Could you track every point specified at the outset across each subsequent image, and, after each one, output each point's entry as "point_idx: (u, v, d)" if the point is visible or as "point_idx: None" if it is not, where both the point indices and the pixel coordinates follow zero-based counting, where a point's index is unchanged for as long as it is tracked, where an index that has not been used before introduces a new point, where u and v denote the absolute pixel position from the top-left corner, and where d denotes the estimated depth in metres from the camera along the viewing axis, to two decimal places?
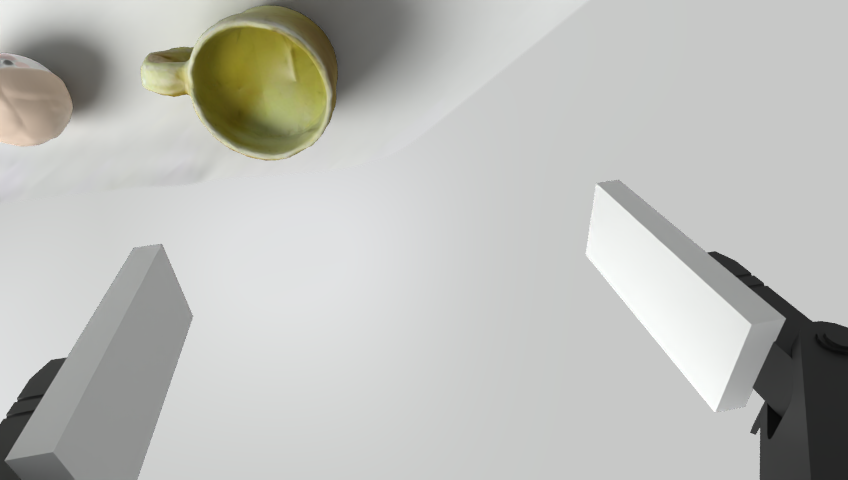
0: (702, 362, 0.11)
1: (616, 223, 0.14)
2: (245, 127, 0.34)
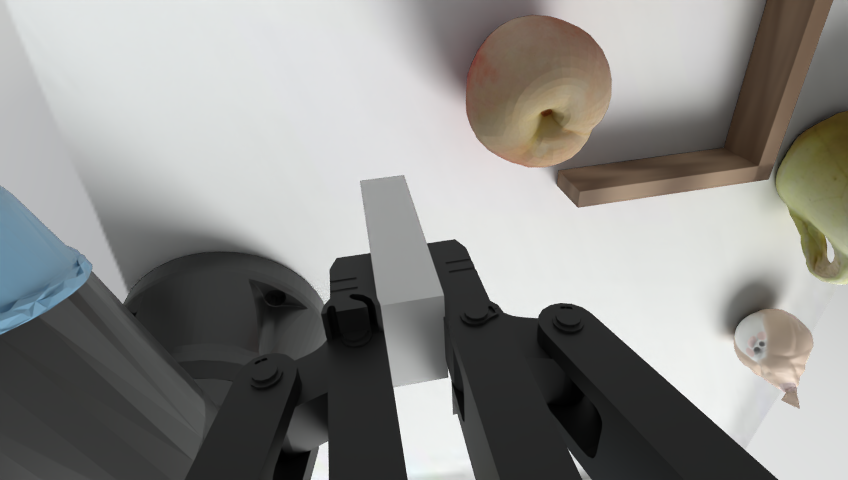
0: None
1: None
2: None
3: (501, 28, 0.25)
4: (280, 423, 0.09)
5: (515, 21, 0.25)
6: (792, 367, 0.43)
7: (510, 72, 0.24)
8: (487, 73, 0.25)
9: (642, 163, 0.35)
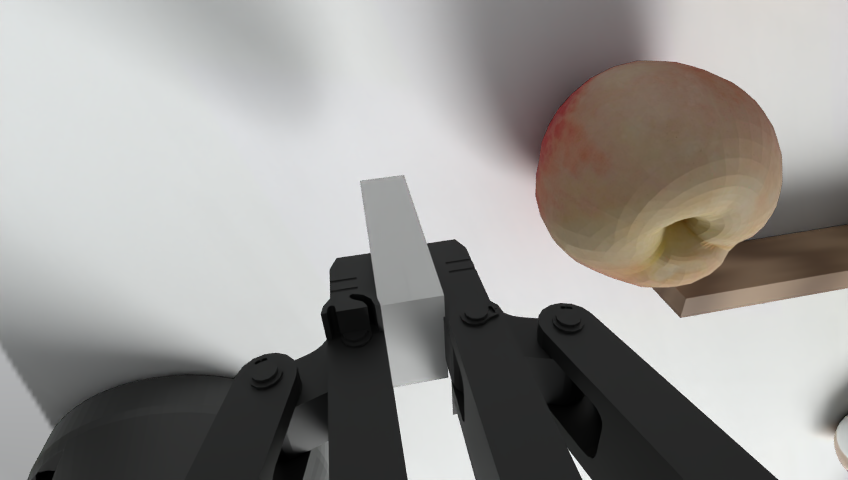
0: None
1: None
2: None
3: (605, 82, 0.16)
4: (280, 423, 0.09)
5: (630, 72, 0.16)
6: None
7: (632, 162, 0.14)
8: (588, 158, 0.15)
9: (759, 246, 0.26)
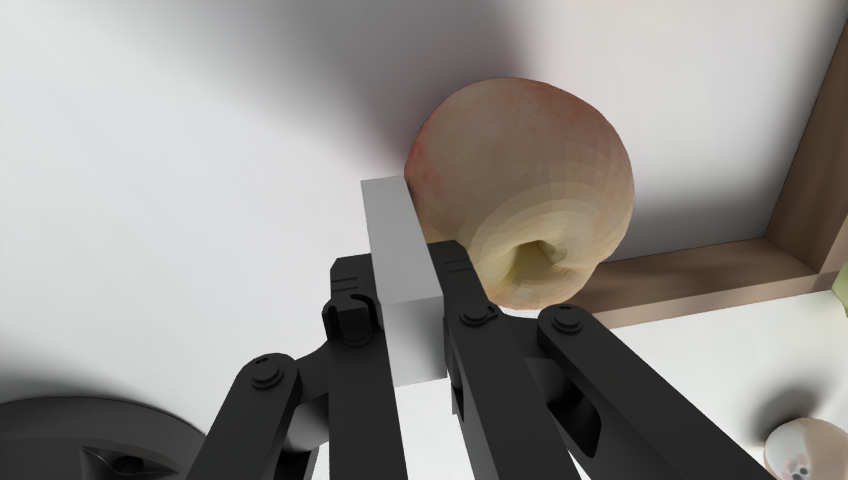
0: None
1: None
2: None
3: (453, 101, 0.15)
4: (281, 423, 0.09)
5: (475, 91, 0.15)
6: None
7: (463, 186, 0.14)
8: (428, 180, 0.15)
9: (653, 263, 0.25)
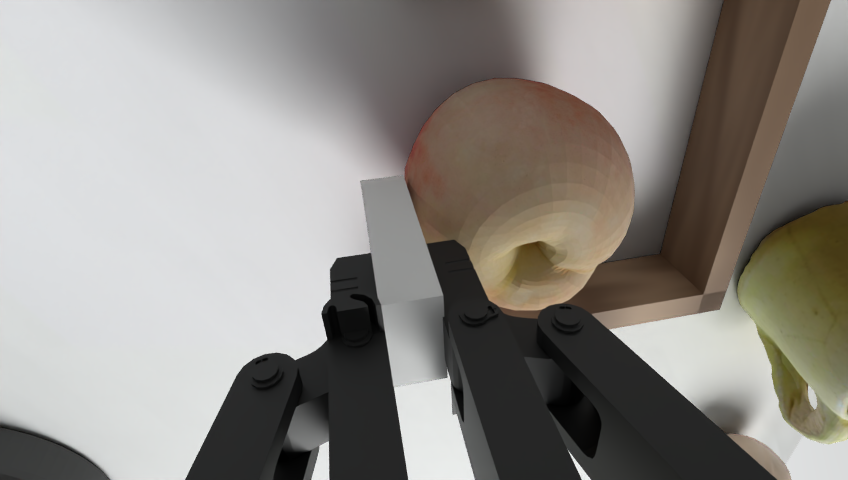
0: None
1: None
2: None
3: (454, 101, 0.15)
4: (281, 423, 0.09)
5: (476, 91, 0.15)
6: None
7: (463, 186, 0.14)
8: (428, 181, 0.15)
9: None
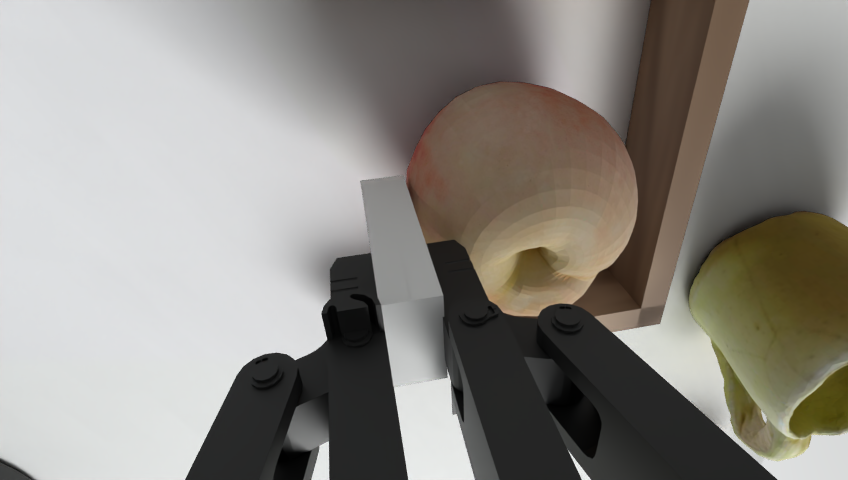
0: None
1: None
2: None
3: (458, 104, 0.15)
4: (281, 423, 0.09)
5: (480, 94, 0.15)
6: None
7: (466, 190, 0.14)
8: (431, 183, 0.15)
9: None
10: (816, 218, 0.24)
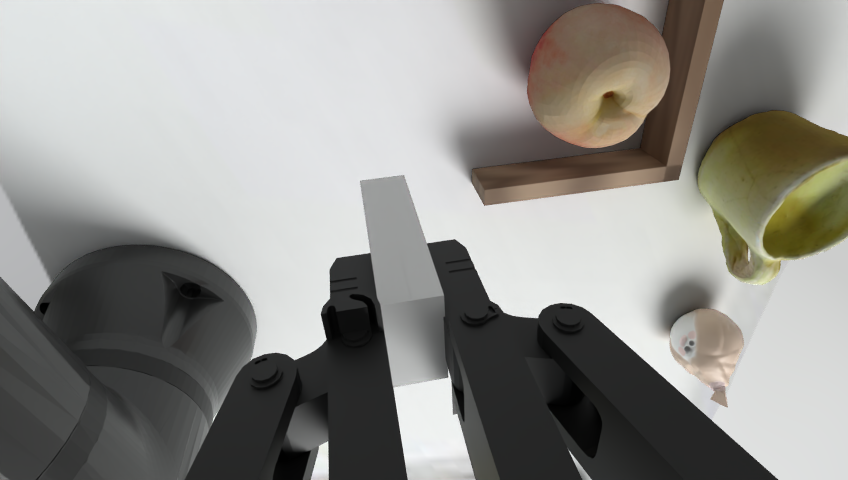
0: None
1: None
2: (815, 214, 0.37)
3: (569, 14, 0.27)
4: (280, 423, 0.09)
5: (583, 8, 0.27)
6: (720, 366, 0.43)
7: (579, 55, 0.26)
8: (556, 56, 0.26)
9: (555, 162, 0.36)
10: (784, 112, 0.35)
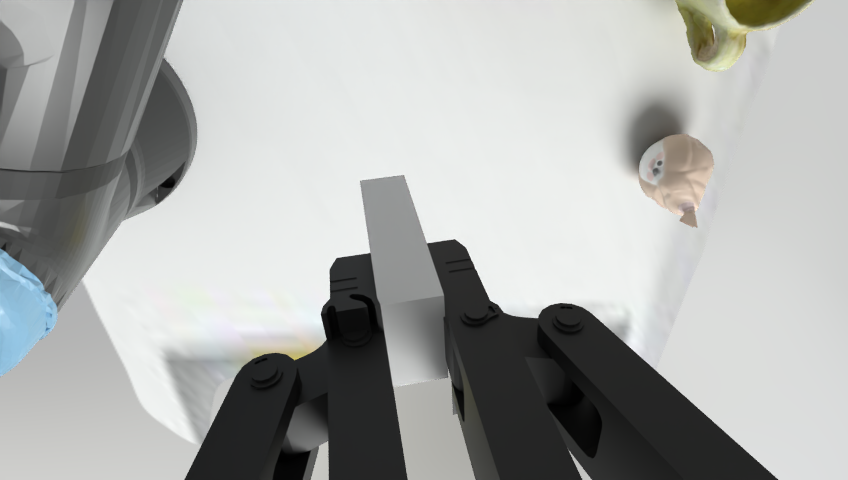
0: None
1: None
2: None
3: None
4: (280, 423, 0.09)
5: None
6: (689, 183, 0.41)
7: None
8: None
9: None
10: None
